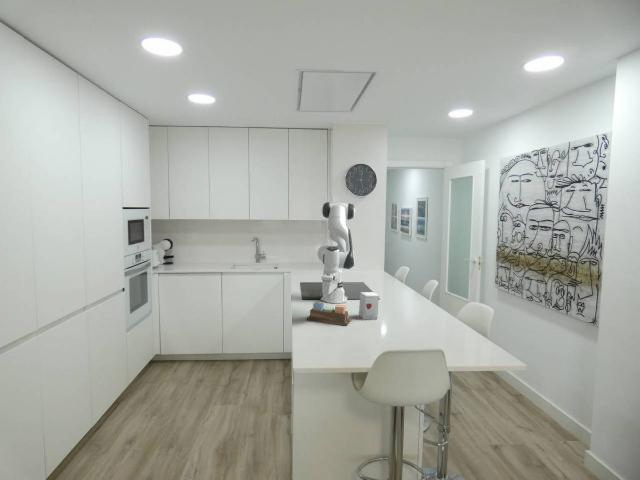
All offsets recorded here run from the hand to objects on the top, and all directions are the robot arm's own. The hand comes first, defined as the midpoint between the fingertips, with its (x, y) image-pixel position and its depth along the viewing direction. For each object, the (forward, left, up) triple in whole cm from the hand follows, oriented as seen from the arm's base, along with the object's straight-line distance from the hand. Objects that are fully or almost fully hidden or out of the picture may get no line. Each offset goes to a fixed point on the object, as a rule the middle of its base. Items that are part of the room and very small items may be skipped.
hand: (329, 298), depth 230 cm
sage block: (0, 0, -11) cm, 11 cm away
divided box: (0, 0, -13) cm, 13 cm away
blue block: (0, -6, -9) cm, 11 cm away
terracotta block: (0, +7, -8) cm, 11 cm away
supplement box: (-17, +20, -13) cm, 30 cm away
